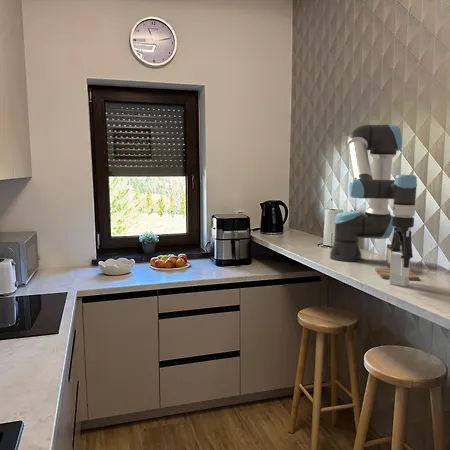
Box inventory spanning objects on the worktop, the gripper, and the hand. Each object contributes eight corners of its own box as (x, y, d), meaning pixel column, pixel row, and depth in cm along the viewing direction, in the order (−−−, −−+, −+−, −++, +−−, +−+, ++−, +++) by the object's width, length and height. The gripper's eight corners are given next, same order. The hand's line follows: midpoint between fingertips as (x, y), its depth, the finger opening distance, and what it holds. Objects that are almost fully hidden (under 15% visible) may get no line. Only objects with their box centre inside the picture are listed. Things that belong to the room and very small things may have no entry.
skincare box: (409, 285, 159) (411, 253, 158) (404, 287, 156) (407, 255, 154) (392, 282, 163) (394, 251, 162) (388, 284, 160) (390, 252, 159)
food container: (405, 272, 181) (406, 249, 180) (390, 271, 182) (391, 248, 181) (399, 265, 193) (400, 244, 192) (385, 265, 194) (386, 243, 193)
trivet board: (375, 270, 182) (375, 268, 182) (408, 272, 180) (409, 269, 180) (382, 278, 168) (382, 275, 168) (419, 280, 166) (419, 277, 166)
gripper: (384, 213, 169) (381, 264, 172) (402, 219, 145) (398, 279, 147) (404, 213, 168) (400, 265, 171) (425, 219, 144) (420, 280, 146)
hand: (399, 272), depth 159 cm, fingers open, 13 cm apart
